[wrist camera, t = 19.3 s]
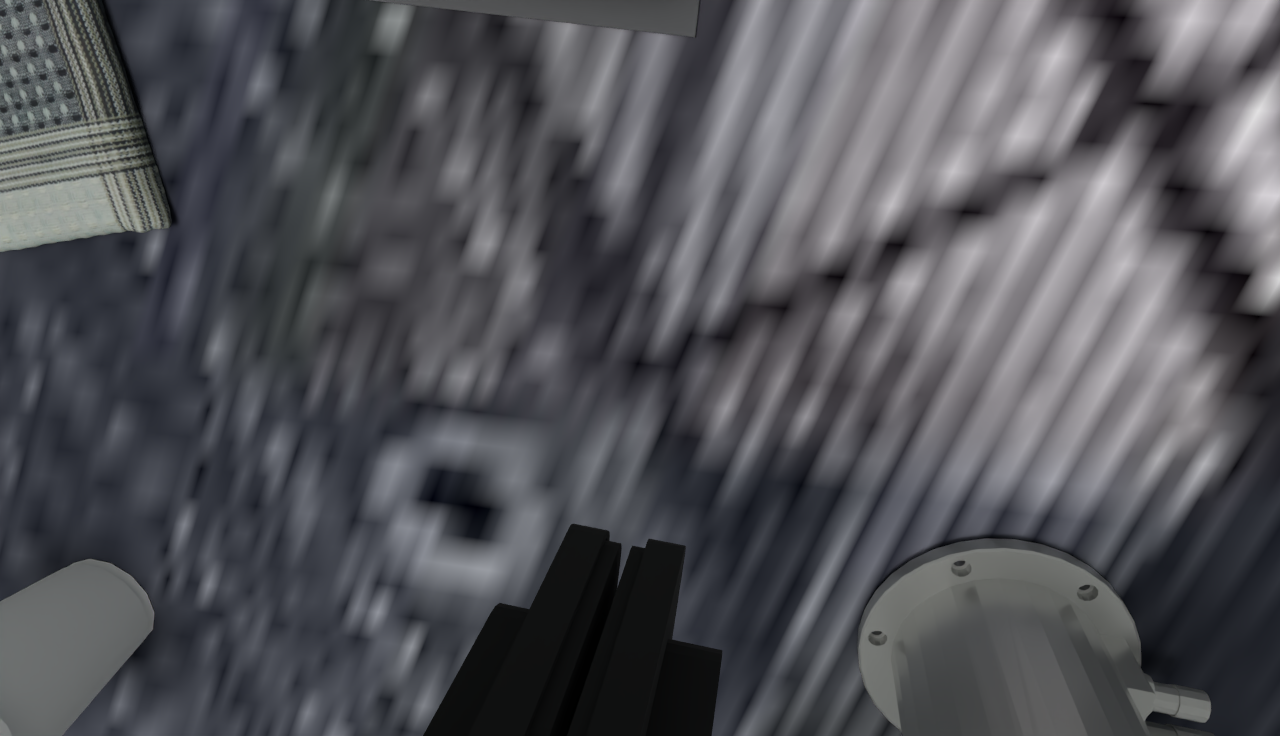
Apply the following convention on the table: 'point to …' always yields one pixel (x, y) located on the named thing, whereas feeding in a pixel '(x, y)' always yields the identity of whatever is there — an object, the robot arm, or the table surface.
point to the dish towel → (70, 130)
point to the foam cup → (66, 644)
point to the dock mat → (587, 12)
